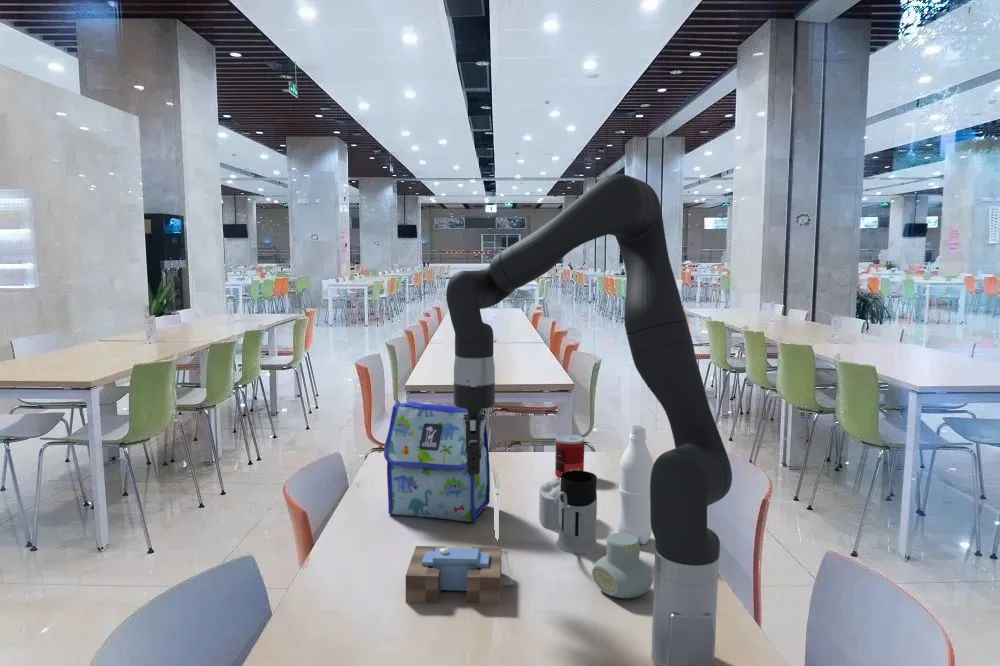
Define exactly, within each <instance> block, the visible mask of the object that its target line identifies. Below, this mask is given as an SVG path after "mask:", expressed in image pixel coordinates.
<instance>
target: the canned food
mask: <svg viewBox="0 0 1000 666" xmlns="http://www.w3.org/2000/svg"><path fill="white" fill-rule="evenodd" d="M567 471H585V437H583V436H581V435H580V434H579V435H578V434H561V435H558V436H556V439H555V469H554V473H555V477H556V476H557V477H559V478H561V474H562V473H564V472H567ZM557 477H556V478H557Z"/></svg>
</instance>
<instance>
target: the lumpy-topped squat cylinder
mask: <svg viewBox="0 0 1000 666" xmlns="http://www.w3.org/2000/svg"><path fill="white" fill-rule="evenodd" d="M560 490H561V480H560V479H558V478H553V479H551V481H547V482H544V483H542V485H540V487H539V500H538V501H539V502H538V504H539V505H538V506H539V507H538V510H539V513H538V516H539V517H538V519H539V520H540V521H539V523H540V526H542V528H544V529H546V530H549V529H550V530H549V531H559V530H558V529H557V527H556V523H555V519H554V501H555V498H556V496H557V494H558V493H559V492H560ZM559 498H560V497H559ZM557 515H558V521H559V499H558V505H557Z"/></svg>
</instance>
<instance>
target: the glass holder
mask: <svg viewBox="0 0 1000 666" xmlns="http://www.w3.org/2000/svg"><path fill="white" fill-rule="evenodd" d="M597 477H598V476H597V475H596V474H594V473H593V472H590V471H585V470H584V471H567V472H564V473H562V474H561V490H560V492H559V493H558V494H557V496H556V498H555V501H554V519H555V523H556V527H557V529H558V530H557V531H558V539H557V540H556V546H557V548H559V549H560V550H561V551H563V552H566V553H569V554H575V555H576V554H577V555H582V554H590V553H593V552H595V551H596V550H597V549H598V548H599V543H598V542H597V515H598V513H597V512H598V511H597V510H598V507H597V506H598V495H597V481H598V480H597ZM559 497H560V498H559ZM558 499H559V521H558V515H557V505H558Z"/></svg>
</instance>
